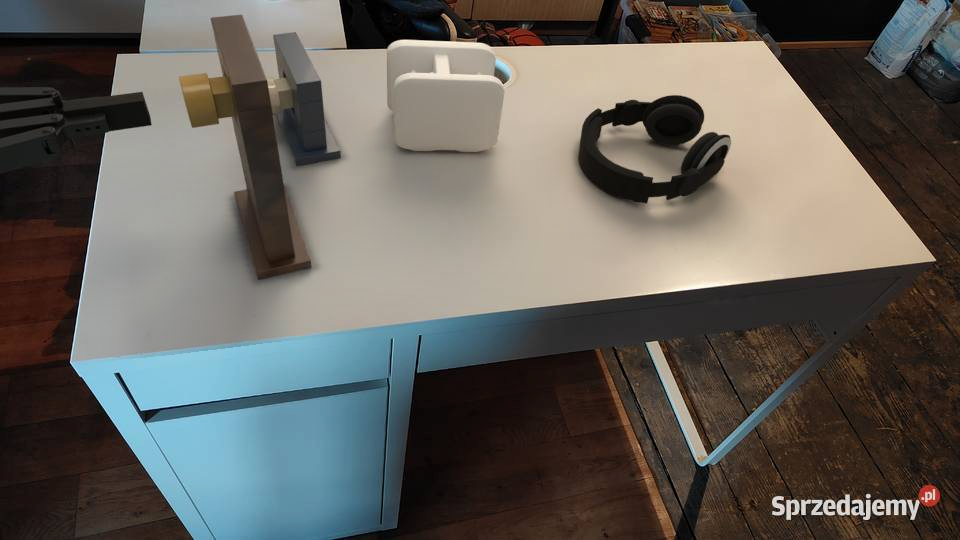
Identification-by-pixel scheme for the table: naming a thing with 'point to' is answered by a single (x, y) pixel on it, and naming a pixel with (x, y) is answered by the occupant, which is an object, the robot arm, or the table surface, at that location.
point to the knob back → (280, 94)
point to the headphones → (664, 124)
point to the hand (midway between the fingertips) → (146, 108)
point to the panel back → (303, 105)
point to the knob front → (206, 99)
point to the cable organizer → (443, 95)
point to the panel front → (258, 156)
